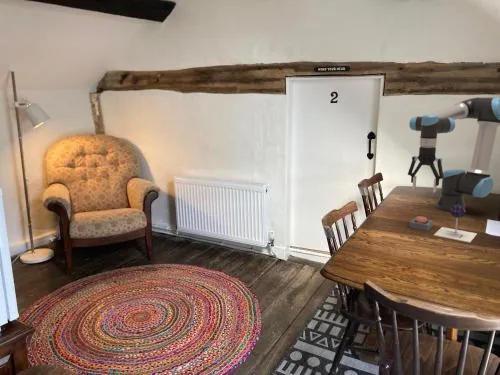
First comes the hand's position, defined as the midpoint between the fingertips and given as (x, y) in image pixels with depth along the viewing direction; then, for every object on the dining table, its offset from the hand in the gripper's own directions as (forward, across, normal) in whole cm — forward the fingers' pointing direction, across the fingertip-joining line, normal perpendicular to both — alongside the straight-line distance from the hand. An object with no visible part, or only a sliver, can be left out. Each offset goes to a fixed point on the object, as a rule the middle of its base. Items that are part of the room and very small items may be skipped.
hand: (424, 190), depth 203 cm
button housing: (+20, 0, 0) cm, 20 cm away
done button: (+18, 0, 0) cm, 18 cm away
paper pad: (+20, +17, -2) cm, 26 cm away
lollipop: (+19, +17, -2) cm, 26 cm away
